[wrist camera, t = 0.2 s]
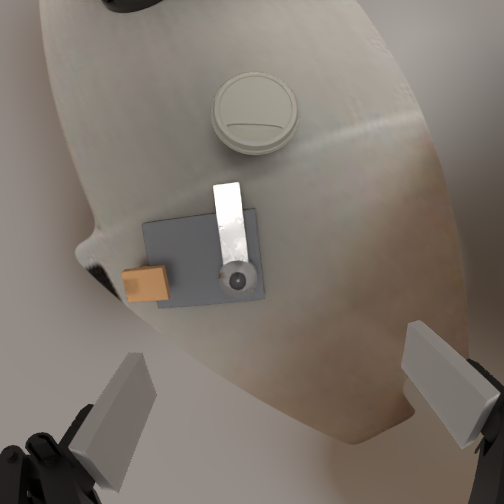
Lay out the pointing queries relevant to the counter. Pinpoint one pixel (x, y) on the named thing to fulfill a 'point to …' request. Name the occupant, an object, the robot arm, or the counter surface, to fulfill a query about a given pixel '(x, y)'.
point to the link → (233, 243)
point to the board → (197, 258)
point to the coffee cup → (255, 113)
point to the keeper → (146, 283)
